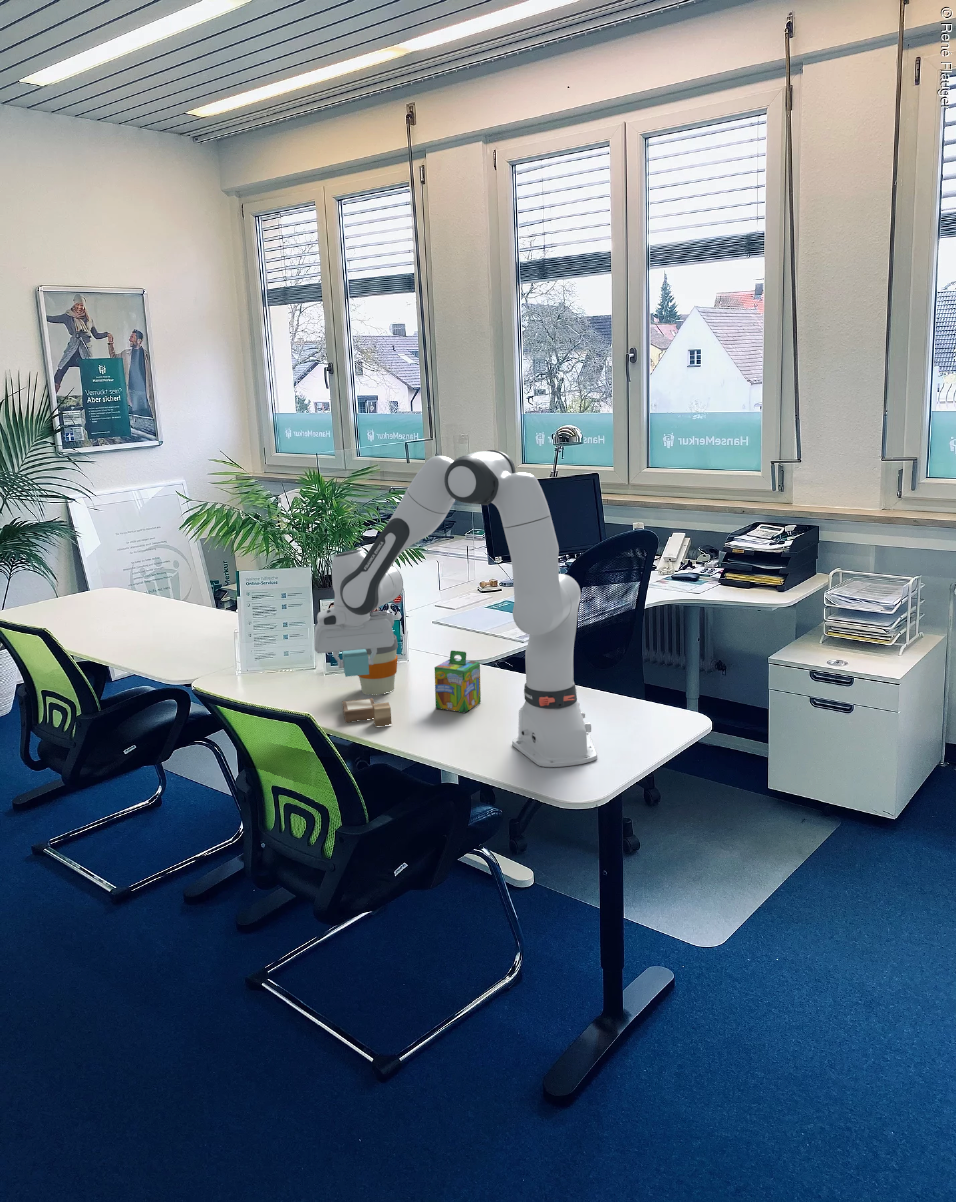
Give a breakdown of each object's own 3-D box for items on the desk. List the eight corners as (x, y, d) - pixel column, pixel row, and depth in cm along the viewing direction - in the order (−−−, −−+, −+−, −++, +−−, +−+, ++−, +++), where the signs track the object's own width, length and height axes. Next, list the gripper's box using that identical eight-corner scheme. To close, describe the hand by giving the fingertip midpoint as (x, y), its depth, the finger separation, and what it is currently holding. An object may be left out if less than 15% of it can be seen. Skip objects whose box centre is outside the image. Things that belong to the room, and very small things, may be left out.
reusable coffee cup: (406, 693, 265) (403, 640, 261) (362, 700, 260) (358, 647, 257) (393, 680, 276) (389, 630, 272) (350, 687, 272) (346, 636, 268)
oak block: (391, 726, 241) (390, 707, 239) (375, 728, 240) (374, 709, 239) (389, 720, 244) (388, 702, 243) (374, 722, 244) (372, 703, 242)
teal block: (369, 674, 244) (368, 655, 242) (345, 676, 242) (344, 657, 241) (366, 667, 249) (365, 648, 248) (343, 669, 248) (342, 651, 247)
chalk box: (434, 709, 251) (432, 655, 248) (452, 698, 259) (449, 645, 255) (465, 714, 247) (463, 658, 243) (482, 702, 255) (480, 649, 251)
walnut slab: (377, 719, 246) (376, 707, 245) (345, 722, 244) (344, 711, 243) (373, 708, 253) (372, 697, 252) (343, 712, 252) (342, 701, 251)
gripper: (391, 607, 247) (394, 658, 251) (311, 614, 243) (315, 666, 246) (394, 613, 241) (397, 665, 245) (312, 620, 237) (316, 673, 240)
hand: (355, 665), depth 245 cm, fingers closed on teal block, 6 cm apart
